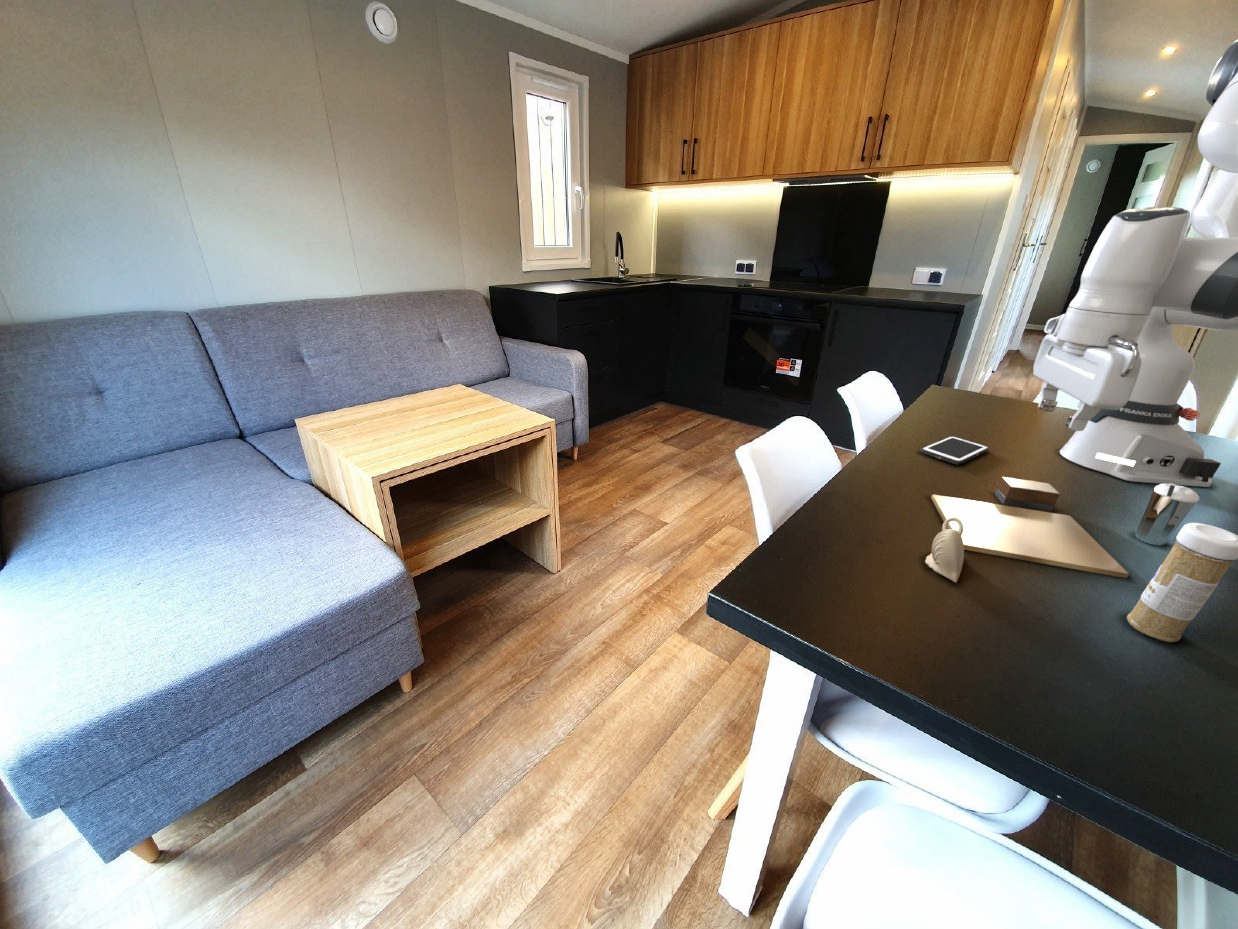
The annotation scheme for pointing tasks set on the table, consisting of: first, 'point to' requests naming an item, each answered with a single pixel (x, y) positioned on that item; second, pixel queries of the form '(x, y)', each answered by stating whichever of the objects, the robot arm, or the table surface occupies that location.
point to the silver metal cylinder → (1165, 513)
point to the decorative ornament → (947, 551)
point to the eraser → (1026, 494)
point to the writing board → (1027, 535)
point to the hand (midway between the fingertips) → (1058, 419)
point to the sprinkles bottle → (1184, 581)
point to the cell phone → (954, 450)
